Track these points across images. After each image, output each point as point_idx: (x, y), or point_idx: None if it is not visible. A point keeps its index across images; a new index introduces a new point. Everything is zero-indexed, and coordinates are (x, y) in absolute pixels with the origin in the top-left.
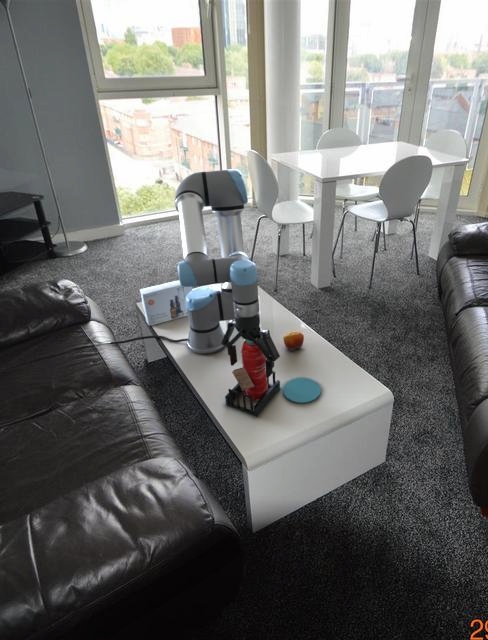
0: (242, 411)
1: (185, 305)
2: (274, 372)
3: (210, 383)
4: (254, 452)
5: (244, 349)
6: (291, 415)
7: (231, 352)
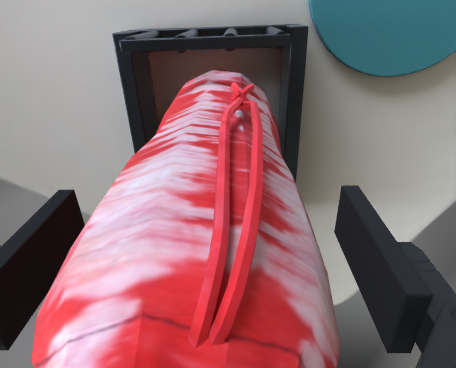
0: None
1: None
2: (288, 42)
3: (17, 143)
4: (343, 300)
5: None
6: (402, 145)
7: (27, 319)
